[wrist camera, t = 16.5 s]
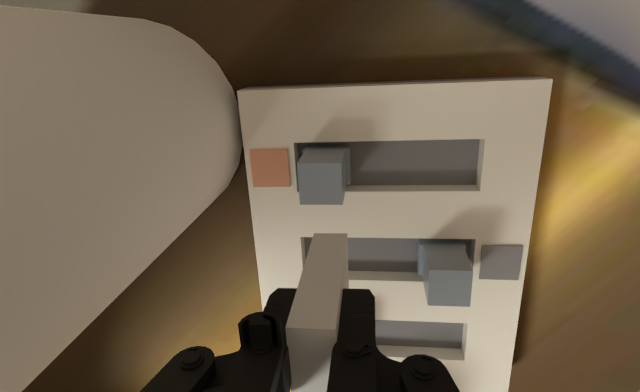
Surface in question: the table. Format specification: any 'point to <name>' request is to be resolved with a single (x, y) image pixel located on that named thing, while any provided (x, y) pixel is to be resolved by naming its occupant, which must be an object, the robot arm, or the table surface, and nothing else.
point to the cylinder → (97, 166)
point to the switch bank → (408, 202)
